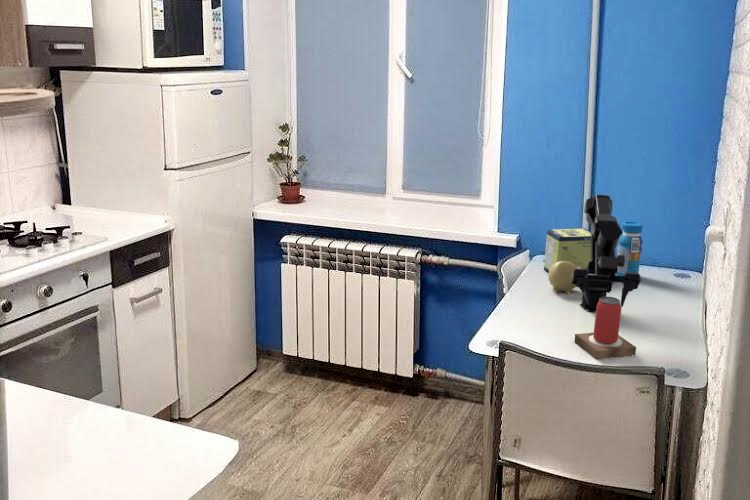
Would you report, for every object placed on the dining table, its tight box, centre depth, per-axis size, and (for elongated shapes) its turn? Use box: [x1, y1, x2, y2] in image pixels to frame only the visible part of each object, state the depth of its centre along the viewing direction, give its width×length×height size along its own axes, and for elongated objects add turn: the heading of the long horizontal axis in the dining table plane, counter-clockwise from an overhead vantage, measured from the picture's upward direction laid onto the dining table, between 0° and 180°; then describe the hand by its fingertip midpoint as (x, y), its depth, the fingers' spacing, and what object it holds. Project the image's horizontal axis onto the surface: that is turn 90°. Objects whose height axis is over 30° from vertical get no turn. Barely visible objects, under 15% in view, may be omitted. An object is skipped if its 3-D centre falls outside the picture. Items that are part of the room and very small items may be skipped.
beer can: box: [593, 296, 622, 344], centre depth 212 cm, size 7×7×12 cm
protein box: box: [543, 228, 591, 274], centre depth 278 cm, size 10×16×16 cm
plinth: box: [573, 332, 637, 360], centre depth 214 cm, size 12×12×3 cm
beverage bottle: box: [616, 220, 644, 276], centre depth 275 cm, size 8×8×20 cm
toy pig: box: [547, 261, 582, 294], centre depth 260 cm, size 10×12×11 cm
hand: (605, 305), depth 218 cm, fingers open, 9 cm apart
